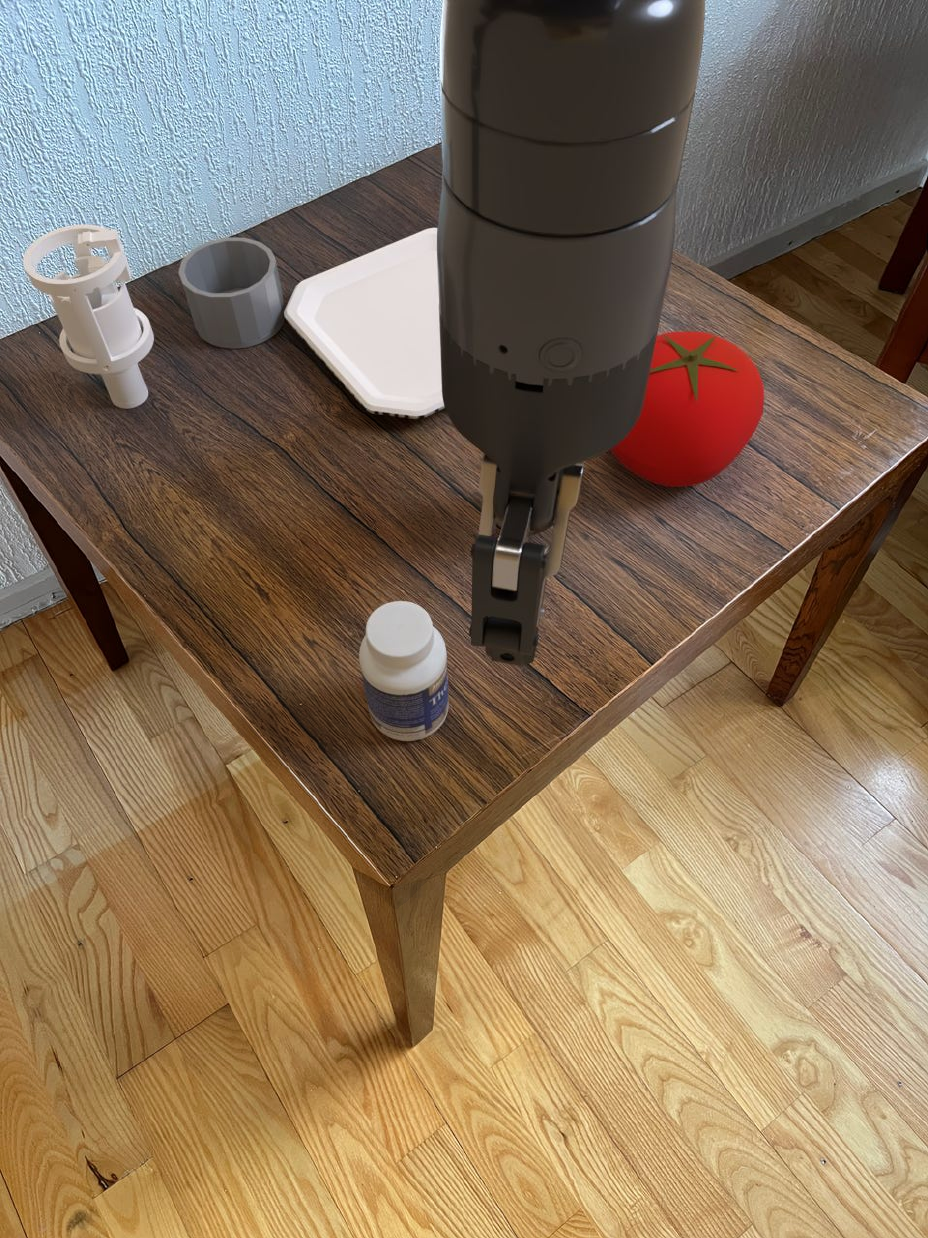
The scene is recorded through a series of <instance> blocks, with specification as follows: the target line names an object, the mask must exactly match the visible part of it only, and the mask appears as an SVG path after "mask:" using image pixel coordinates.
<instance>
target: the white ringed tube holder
mask: <svg viewBox="0 0 928 1238" xmlns="http://www.w3.org/2000/svg"><path fill="white" fill-rule="evenodd" d="M70 244H71V246H72V249H73V250H74V253H75V255H76V257H74V258H73V262H74V264H75V266H76V270H77V272H78V273H76V274H73V275H72V276H71V275H70V276H68V273H67V271H66V269H63V270H61V271H60V272H58V273H57V274H56V275H55V276H54V277H53V278H49V277H46V276H44V275H41V274H40V273H38V272H37V268H38V266H39V264H40V263H41V261H42V260H43V259H44V258H45V257H46V256H48V254H50V253H51V252H53V251H54V250H57V249H59V248H61V247H63V246H67V245H70ZM103 247H106V248H105V249H106V251H107V254H108V257H109V261H108V259H107V258H106V257H104V256H99V255H94V254H93V251H92V249H96V248H103ZM22 263H23V267H24V270H25V273H26V275H27V277H28V279H29V281H30V283H31V285H32V286H33V288H35V289H36V290H38V291H39V292H41V293H42V294H45V295H48V298H49V300H50V302H51V304H52V307H53V308H54V311H55V313H56V315H57V317H58V320H59V323H60V325H61V326H62V330H61V331H60V334H59V339H58V340H59V346H60V347H59V348H60V349H61V351H62V354H63V355H64V357H65V360H66V361H67V363H68V364H69V365H70V366H71V367H72V368H74V369H75V370H77V371H79V372H82V373H86V374H91V375H100V376H101V377H102V380H103V382H104V384H105V385H104V386H105V387H106V389H107V392H108V394H109V397H110V400H111V402H112V404H113V405H114V406H116V407H117V408H120V409H125V410H127V409H134V408H138V407H139V406H141V405H143V403H145V402H146V401H147V399H148V398H149V390H148V387H147V385H146V382H145V380H144V377H143V375H142V372H141V368H140V367H139V363H140V362H141V361H142V360H143V359H144V358H146V356H147V355H148V354H149V353H150V352H151V350H152V348H153V344H154V340H155V335H154V332H153V330H152V326H151V324H150V321H149V318H148V317H147V315H146V314H144V312H143V311H141V310H140V309H138V308H136V307H134V305H133V302H132V299H131V297H130V293H129V290H128V288H127V285H126V283H125V282H127V281H132V270H131V267H130V264H129V262H128V259H127V255H126V251H125V249H124V246H123V243H122V241H121V239H120V236H119V232H118V230H117V229H110V228H107V227H105V226H100V225H96V224H95V225H94V224H72V225H67V226H63V227H59V228H56V229H53V230H51V231H49V232H47V233H45V234H42V236H40V237H38V238H37V239H36V240H34V241H33V242H32V243H31V244H30V245H29V246H28V248H27V249H26V251H25V252H24V255H23V259H22ZM116 282H119V283H120V288H118V285H117V283H116ZM142 329H143V330H142ZM71 349H72V351H71Z"/></svg>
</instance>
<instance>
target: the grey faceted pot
mask: <svg viewBox="0 0 928 1238" xmlns="http://www.w3.org/2000/svg"><path fill="white" fill-rule="evenodd" d="M276 260H277V259H276V258H275V255H274V253H273V251H272V249H270V248H269V247H268V246H266V245H265V244H263V243H262V242H261V241H258V240H254V239H251V238H246V237H222V238H218V239H214V240H210V241H206V242H204V243H203V244H200V245H198V246H197V247H195V248H193V249H191V250H190V251H189V252H188V253H187V254H186V255H185V256H184V257H183V258H182V259H181V261H180V264H179V267H178V268H179V269H178V276H179V281H180V284H181V287H182V290H183V293H184V296H185V300H186V304H187V307H188V310H189V313H190V316H191V321H192V323H193V326H194V329H195V331H196V333H197V335H198V336H199V337H200V338H201V339H202V340H203V341H205V342H206V343H208V344H209V345H211V346H214V347H218V348H222V349H234V350H236V349H245V348H251V347H254V346H258V345H260V344H262V343H264V342H266V341H269V340H270V339H271V338H273V337H274V336H275V335H276V334H277V333H278V332H279V331H280V330H281V329H282V327H283V325H284V323H285V321H286V319H285V316H284V311H285V309H286V304H285V300H284V294H283V289H282V284H281V279H280V274H279V269H278V265H277V261H276Z"/></svg>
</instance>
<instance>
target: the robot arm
mask: <svg viewBox="0 0 928 1238" xmlns="http://www.w3.org/2000/svg"><path fill="white" fill-rule="evenodd" d="M705 17H706V0H442V6H441V18H440V30H439V31H440V32H439V97H440V99H439V100H440V101H439V102H440V130H441V131H440V134H441V135H440V136H441V137H440V138H441V162H442V163H441V164H442V171H441V192H440V198H439V199H440V200H439V207H438V215H437V216H438V218H437V226H436V228H437V270H438V293H439V327H440V355H441V382H442V398H443V403H444V406H445V408H444V409H445V412H446V415H447V417H448V418H449V421H450V422H451V423H452V425H453V426H454V427H455V429H456V430H457V431H458V432H459V434H460V435H461V436H462V437H463V438H464V439H465V440H467V441H468V442H469V443H470V445H471V444H472V446H474V447H475V448H477V450H479V451H480V452H481V453H483V454H482V458H481V463H480V470H479V471H480V472H479V479H478V490H479V492H480V493H481V496H482V503H481V511H480V519H479V527H478V533H477V536H476V538H475V541H474V542H472V544H471V547H470V552H469V553H470V555H469V557H470V558H472V560H471V561H472V562H471V564H472V565H471V611H470V612H471V613H470V614H471V616H470V617H471V618H470V620H471V621H470V627H469V632H468V636H469V637H470V645H471V646H473V647H474V646H476V647H480V648H483V647H484V649H485V654H486V656H488V657H490V659H491V662H497V663H502V664H507V665H513V666H518V667H524V665H530V664H532V663H534V661H535V656H536V653H537V647H538V642H539V636H540V635H539V627H540V622H541V620H544V618H545V613H546V607H544V599H545V594H546V587H547V581H548V579H549V578H550V577H553V576H556V575H557V574H558V572H559V571H560V569H561V566H562V563H563V559H564V553H565V547H566V540H567V536H568V535H567V534H568V529H569V523H570V517H571V510H572V509H573V508H575V506H576V505H577V503H578V501H579V498H580V495H581V490H582V484H583V477H584V472H585V471H584V470H585V462H587V461H589V460H592V459H594V458H597V457H599V456H601V455H603V454H605V453H607V452H609V451H611V450H610V449H612V448H613V447H614V446H616V445H617V444H618V443H620V442H621V441H622V440H623V439H624V438H625V437H626V436H627V435H628V434H629V433H630V431H631V430H632V429H633V427H634V426H635V424H636V423H637V421H638V419H639V416H640V414H641V411H642V408H643V404H644V399H645V394H646V389H647V384H648V379H649V374H650V369H651V363H652V358H653V353H654V348H655V343H656V338H657V335H658V332H659V327H660V322H661V317H662V312H663V307H664V302H665V296H666V291H667V287H668V282H669V276H670V271H671V266H672V261H673V260H672V259H673V253H674V246H675V237H676V212H677V211H676V210H677V194H678V187H679V181H680V174H681V170H682V165H683V160H684V154H685V149H686V145H687V139H688V135H689V134H688V133H689V128H690V123H691V117H692V112H693V106H694V102H695V96H696V89H697V83H698V79H699V78H698V77H699V72H700V66H701V65H700V64H701V59H702V52H703V45H704V44H703V43H704V32H705ZM497 518H498V519H499V520H501V521H502V522H503V524H502V528H501V527H500V531H499V535H498V536H497V534H496V527H497V524H496V520H497ZM554 520H555V521H554ZM552 527H553V528H552ZM550 528H552V535H551V541H550V545H548V546H546V545H545V544H540V543H534V542H528V541H529V537H530V535H529V531H533V532H540V533H542V532H546V531H547V530H549V529H550Z"/></svg>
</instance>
